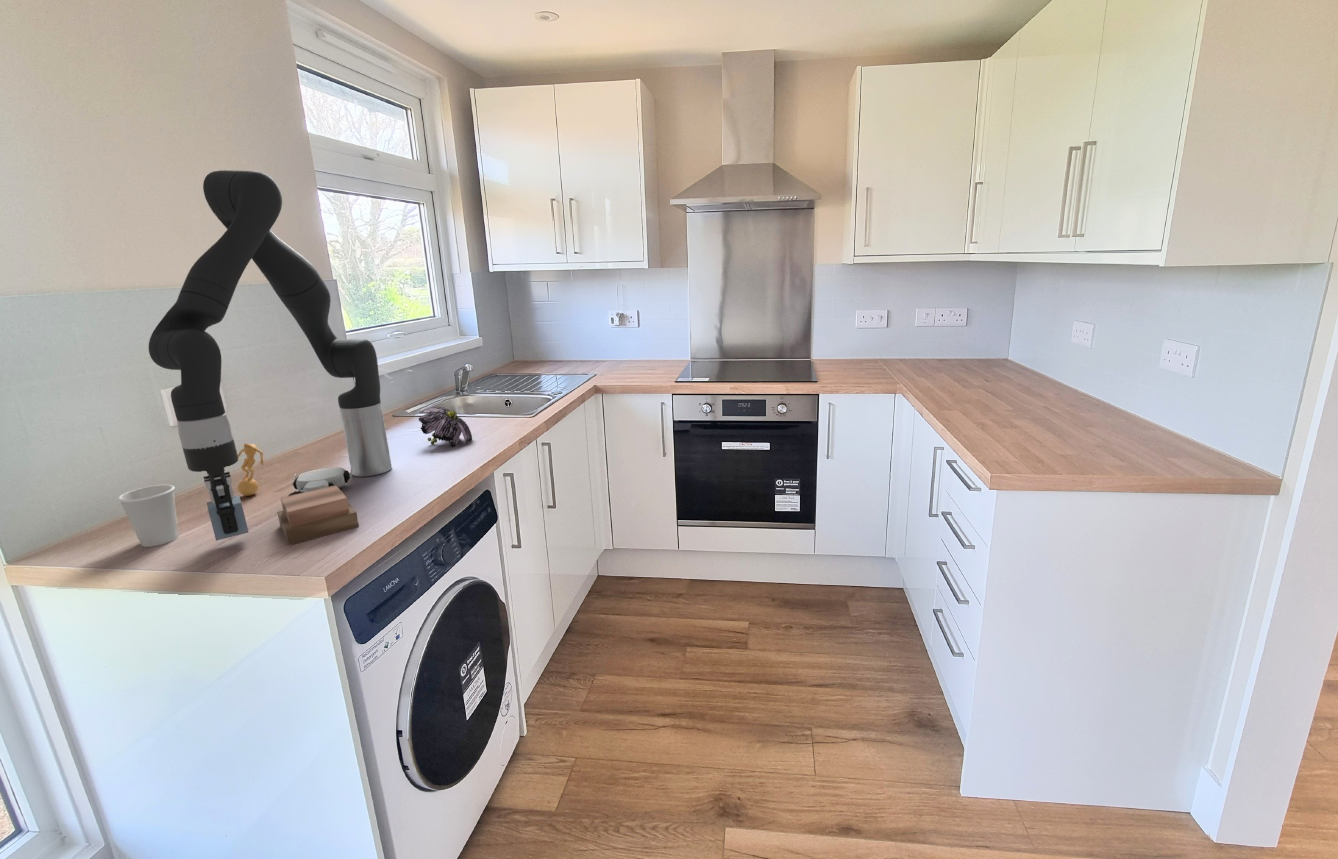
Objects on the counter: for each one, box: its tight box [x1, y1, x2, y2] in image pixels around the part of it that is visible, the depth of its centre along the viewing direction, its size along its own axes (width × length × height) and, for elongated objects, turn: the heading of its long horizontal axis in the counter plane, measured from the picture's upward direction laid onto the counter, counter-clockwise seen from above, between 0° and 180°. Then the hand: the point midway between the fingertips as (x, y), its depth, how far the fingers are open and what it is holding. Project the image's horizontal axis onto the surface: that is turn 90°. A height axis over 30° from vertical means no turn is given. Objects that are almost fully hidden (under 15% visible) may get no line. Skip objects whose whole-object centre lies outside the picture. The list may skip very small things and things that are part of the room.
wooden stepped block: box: [276, 485, 360, 546], centre depth 121 cm, size 12×12×6 cm
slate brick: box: [206, 495, 250, 542], centre depth 114 cm, size 5×5×6 cm
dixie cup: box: [117, 484, 179, 548], centre depth 117 cm, size 8×8×10 cm
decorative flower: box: [418, 406, 473, 448], centre depth 176 cm, size 14×12×15 cm
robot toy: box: [287, 466, 353, 496], centre depth 139 cm, size 12×4×15 cm
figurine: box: [237, 442, 264, 497], centre depth 141 cm, size 8×6×12 cm
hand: (230, 527), depth 114 cm, fingers closed on slate brick, 5 cm apart
